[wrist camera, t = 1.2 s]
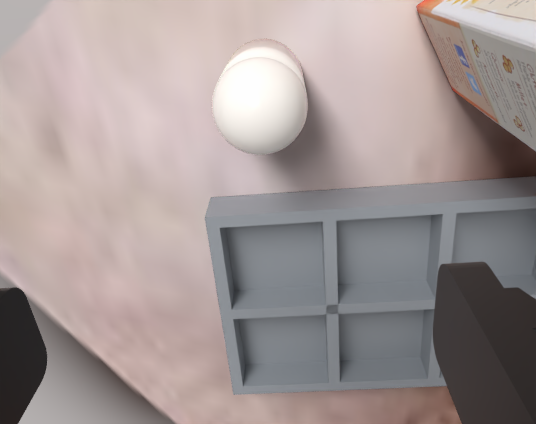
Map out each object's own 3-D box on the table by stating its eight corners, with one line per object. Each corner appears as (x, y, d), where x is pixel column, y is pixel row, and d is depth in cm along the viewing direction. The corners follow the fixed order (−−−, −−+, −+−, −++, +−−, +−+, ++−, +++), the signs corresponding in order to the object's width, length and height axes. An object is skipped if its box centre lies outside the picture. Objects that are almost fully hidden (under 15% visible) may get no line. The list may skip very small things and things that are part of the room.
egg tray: (558, 174, 31) (583, 193, 28) (521, 354, 38) (538, 382, 35) (210, 197, 32) (204, 217, 30) (236, 366, 39) (233, 394, 37)
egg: (300, 35, 27) (307, 62, 20) (304, 115, 29) (312, 166, 22) (220, 42, 28) (198, 71, 20) (230, 120, 30) (213, 172, 22)
